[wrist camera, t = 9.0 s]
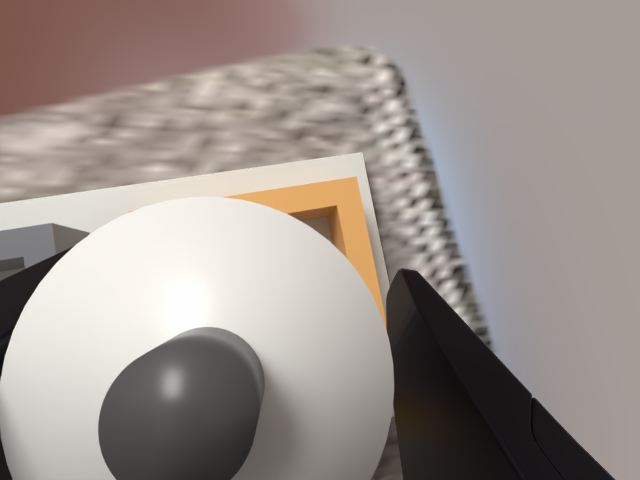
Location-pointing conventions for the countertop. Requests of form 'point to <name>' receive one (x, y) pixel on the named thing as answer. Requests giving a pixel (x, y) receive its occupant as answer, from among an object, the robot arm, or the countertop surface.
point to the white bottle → (198, 354)
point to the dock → (246, 184)
